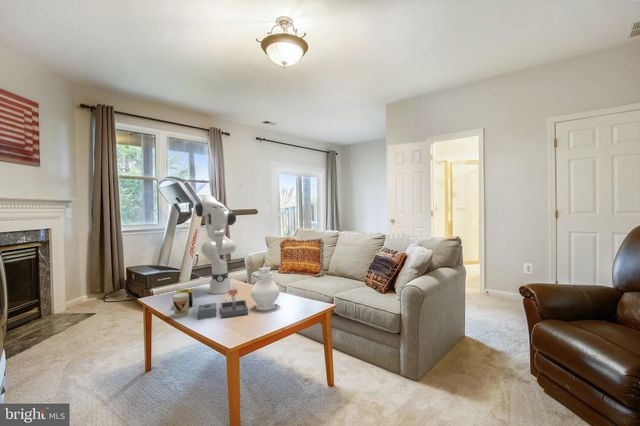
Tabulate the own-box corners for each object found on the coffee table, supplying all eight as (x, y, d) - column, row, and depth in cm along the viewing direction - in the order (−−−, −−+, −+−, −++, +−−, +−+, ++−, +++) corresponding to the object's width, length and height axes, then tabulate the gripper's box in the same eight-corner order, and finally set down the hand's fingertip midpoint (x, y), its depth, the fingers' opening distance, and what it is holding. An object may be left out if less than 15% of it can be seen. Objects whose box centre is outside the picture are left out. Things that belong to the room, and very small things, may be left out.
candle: (175, 309, 195) (174, 294, 194) (176, 304, 204) (175, 290, 204) (192, 307, 199) (192, 291, 198) (192, 302, 208) (192, 288, 208)
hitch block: (199, 313, 187) (198, 305, 186) (216, 311, 190) (216, 303, 190) (198, 318, 177) (197, 310, 177) (216, 316, 180) (216, 308, 180)
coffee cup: (171, 318, 180) (170, 297, 179) (175, 312, 189) (174, 293, 189) (188, 316, 182) (187, 296, 181) (191, 311, 191) (190, 292, 190)
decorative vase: (274, 312, 185) (272, 271, 184) (246, 310, 189) (245, 270, 188) (283, 302, 203) (282, 265, 202) (258, 301, 206) (257, 265, 205)
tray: (221, 308, 195) (221, 302, 194) (245, 305, 199) (245, 300, 199) (221, 318, 178) (221, 312, 177) (248, 314, 182) (247, 308, 182)
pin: (229, 310, 189) (228, 290, 188) (238, 308, 190) (236, 289, 190) (230, 311, 187) (228, 291, 186) (238, 309, 188) (237, 290, 188)
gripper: (213, 230, 207) (214, 250, 207) (213, 232, 187) (214, 255, 188) (223, 229, 209) (224, 250, 209) (224, 232, 189) (224, 254, 190)
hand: (219, 252), depth 198 cm, fingers open, 8 cm apart
